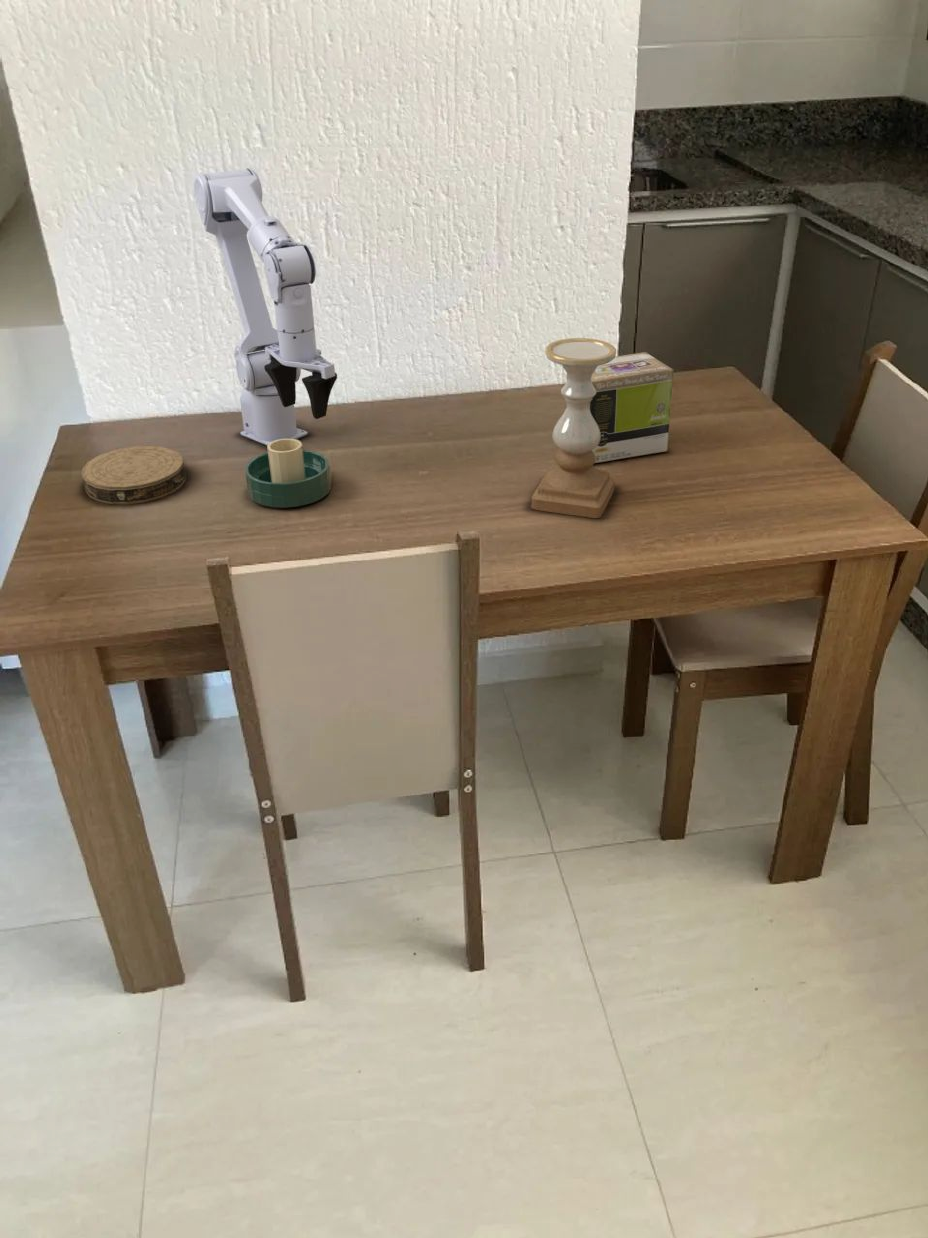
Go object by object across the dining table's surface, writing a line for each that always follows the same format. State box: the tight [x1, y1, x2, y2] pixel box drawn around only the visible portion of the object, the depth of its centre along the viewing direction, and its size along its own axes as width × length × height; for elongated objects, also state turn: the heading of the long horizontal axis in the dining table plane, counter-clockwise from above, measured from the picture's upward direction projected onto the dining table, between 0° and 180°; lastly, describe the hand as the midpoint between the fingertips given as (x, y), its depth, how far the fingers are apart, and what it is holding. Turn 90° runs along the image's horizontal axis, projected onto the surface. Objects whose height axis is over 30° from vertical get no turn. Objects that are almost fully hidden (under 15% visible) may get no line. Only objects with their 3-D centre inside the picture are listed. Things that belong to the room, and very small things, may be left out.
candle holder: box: [530, 337, 617, 519], centre depth 153 cm, size 11×11×24 cm
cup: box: [266, 439, 306, 483], centre depth 160 cm, size 5×5×8 cm
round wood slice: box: [81, 445, 187, 505], centre depth 166 cm, size 16×16×3 cm
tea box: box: [565, 351, 674, 464], centre depth 171 cm, size 15×10×15 cm, turn 108°
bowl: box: [244, 449, 332, 509], centre depth 162 cm, size 13×13×4 cm
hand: (304, 410), depth 165 cm, fingers open, 7 cm apart
